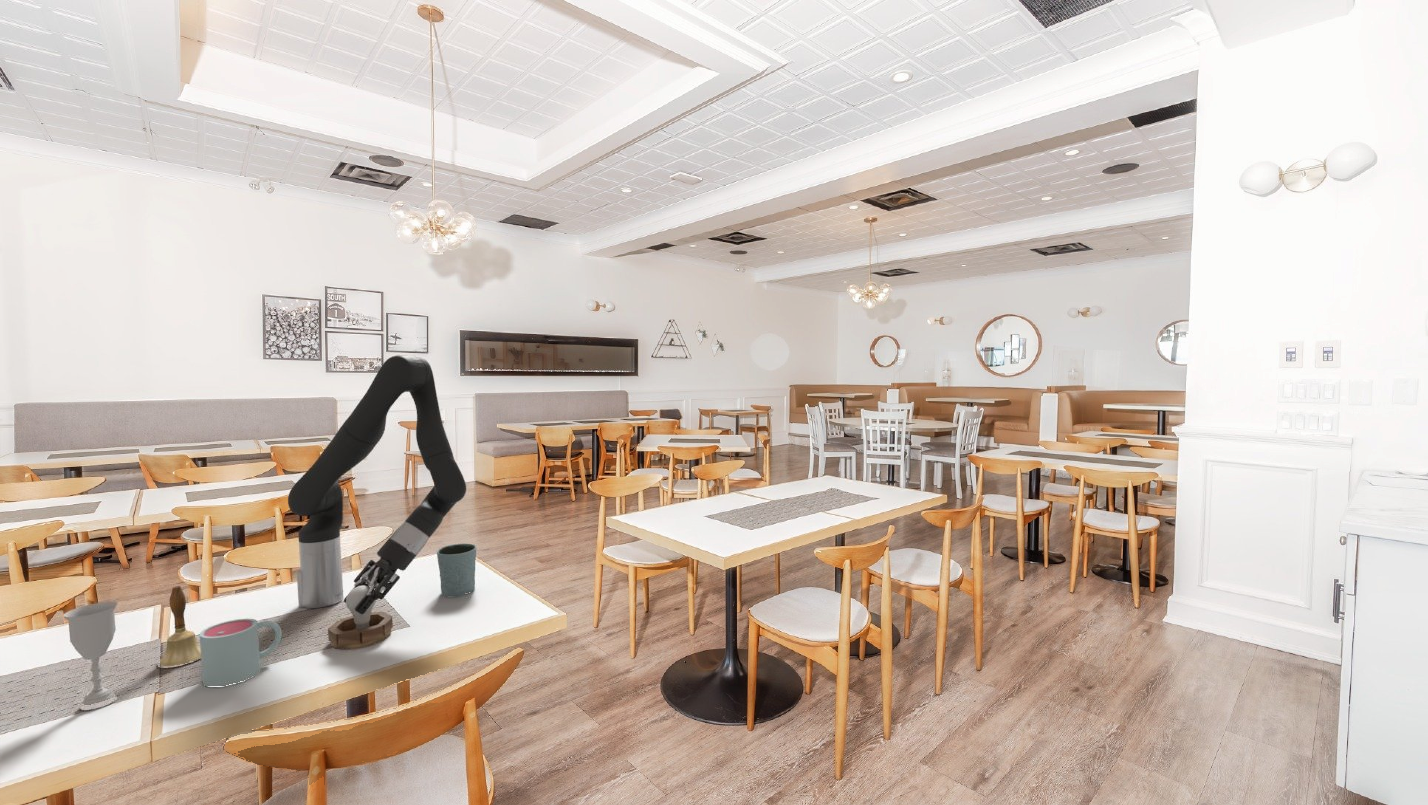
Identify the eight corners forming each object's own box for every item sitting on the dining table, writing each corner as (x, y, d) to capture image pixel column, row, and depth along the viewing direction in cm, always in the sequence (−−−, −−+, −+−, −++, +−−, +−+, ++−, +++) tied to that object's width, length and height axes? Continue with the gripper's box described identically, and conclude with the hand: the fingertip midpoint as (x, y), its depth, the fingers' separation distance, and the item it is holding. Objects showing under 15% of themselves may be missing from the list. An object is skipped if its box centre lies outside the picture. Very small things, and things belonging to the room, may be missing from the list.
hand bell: (151, 672, 126) (145, 596, 125) (164, 656, 134) (159, 584, 133) (202, 663, 130) (197, 589, 129) (212, 647, 137) (207, 577, 136)
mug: (214, 692, 118) (210, 642, 117) (195, 680, 123) (191, 631, 122) (293, 662, 129) (290, 616, 129) (273, 652, 134) (270, 607, 134)
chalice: (97, 694, 118) (89, 602, 117) (135, 691, 118) (128, 600, 117) (60, 715, 111) (51, 618, 110) (100, 713, 111) (92, 616, 110)
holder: (320, 651, 134) (319, 635, 134) (345, 628, 146) (345, 614, 146) (378, 647, 136) (377, 631, 136) (399, 624, 148) (398, 610, 147)
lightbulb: (364, 640, 137) (362, 592, 137) (340, 638, 138) (338, 590, 138) (384, 628, 143) (382, 582, 143) (361, 626, 144) (359, 580, 144)
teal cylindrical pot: (465, 582, 177) (463, 541, 176) (485, 589, 171) (484, 546, 170) (431, 593, 168) (429, 550, 168) (451, 601, 162) (449, 556, 162)
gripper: (380, 532, 150) (328, 592, 142) (403, 542, 140) (349, 608, 132) (404, 548, 154) (355, 607, 146) (428, 559, 145) (377, 624, 137)
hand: (352, 607), depth 139 cm, fingers open, 7 cm apart
